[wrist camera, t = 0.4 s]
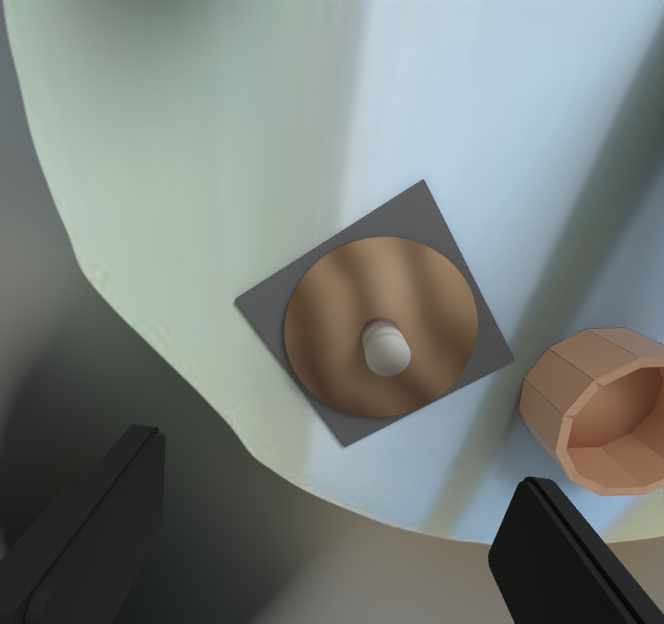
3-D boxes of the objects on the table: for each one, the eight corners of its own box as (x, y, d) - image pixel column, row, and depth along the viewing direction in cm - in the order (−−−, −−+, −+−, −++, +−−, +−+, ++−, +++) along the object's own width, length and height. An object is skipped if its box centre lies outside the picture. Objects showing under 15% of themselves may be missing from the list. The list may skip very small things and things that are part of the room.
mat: (422, 179, 32) (423, 179, 32) (512, 357, 38) (514, 360, 38) (235, 298, 36) (234, 300, 35) (344, 443, 42) (344, 447, 41)
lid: (419, 195, 32) (439, 194, 26) (502, 357, 38) (534, 387, 32) (247, 302, 35) (231, 323, 30) (347, 437, 41) (350, 478, 35)
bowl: (639, 301, 36) (708, 325, 30) (677, 410, 40) (745, 452, 34) (499, 373, 39) (533, 409, 32) (549, 468, 43) (588, 517, 37)
